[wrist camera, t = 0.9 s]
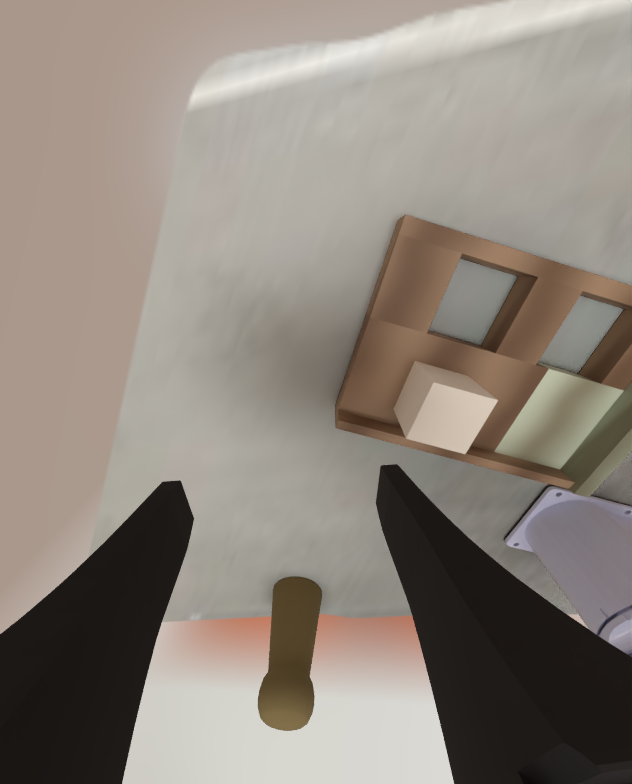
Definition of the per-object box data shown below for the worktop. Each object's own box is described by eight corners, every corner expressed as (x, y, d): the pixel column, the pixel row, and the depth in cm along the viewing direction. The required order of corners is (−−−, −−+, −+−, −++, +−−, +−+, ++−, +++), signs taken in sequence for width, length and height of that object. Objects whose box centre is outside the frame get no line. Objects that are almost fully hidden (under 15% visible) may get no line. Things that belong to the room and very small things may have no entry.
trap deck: (674, 306, 19) (754, 315, 15) (550, 463, 25) (588, 497, 21) (398, 220, 18) (415, 208, 14) (335, 406, 24) (335, 431, 20)
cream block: (467, 375, 20) (498, 400, 16) (442, 422, 21) (465, 454, 18) (414, 360, 20) (433, 382, 16) (393, 409, 21) (406, 438, 18)
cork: (273, 574, 33) (248, 707, 23) (324, 579, 33) (320, 714, 23) (273, 604, 36) (250, 736, 26) (320, 609, 36) (315, 743, 26)
